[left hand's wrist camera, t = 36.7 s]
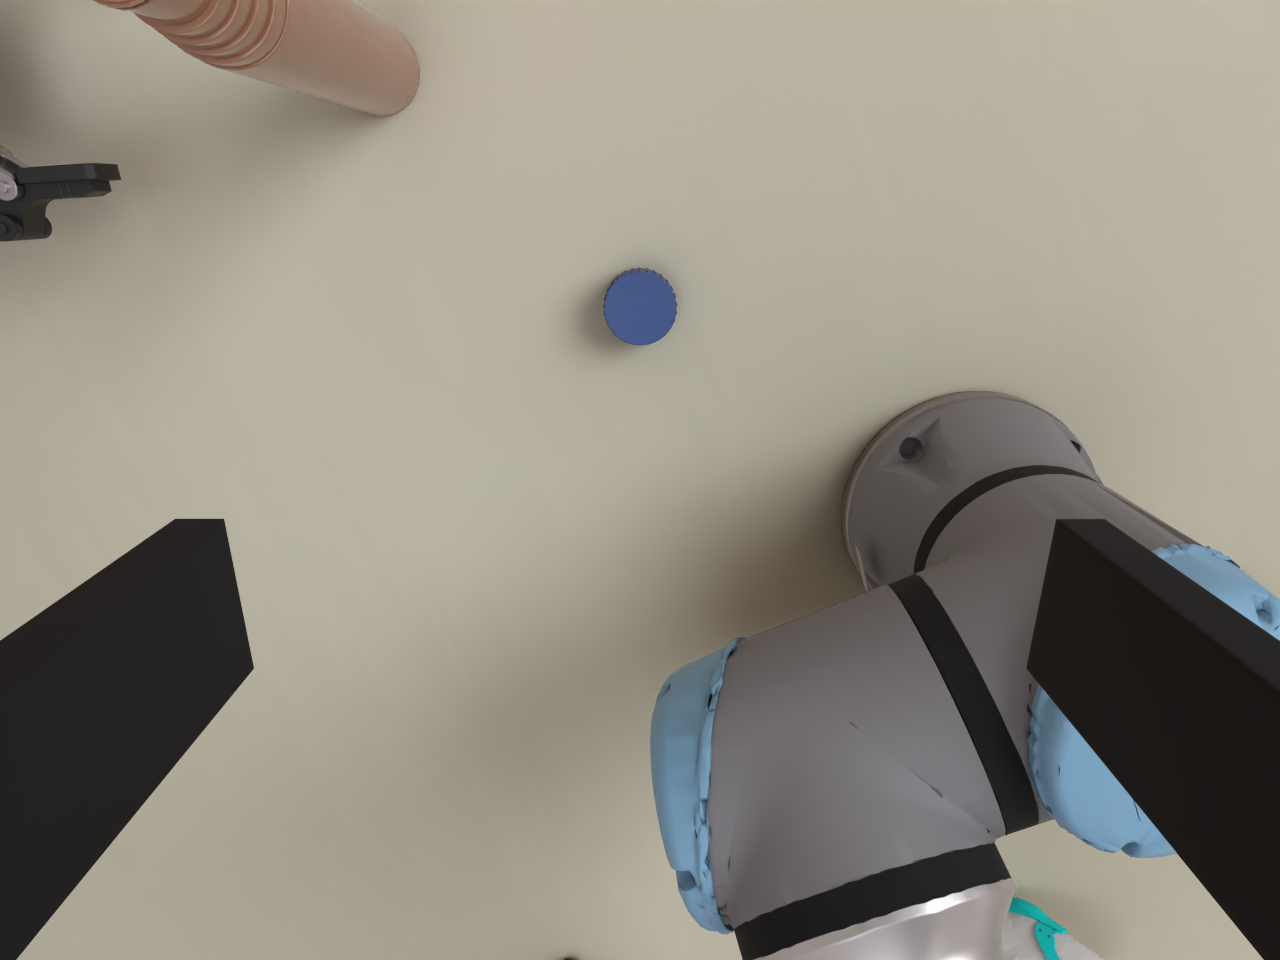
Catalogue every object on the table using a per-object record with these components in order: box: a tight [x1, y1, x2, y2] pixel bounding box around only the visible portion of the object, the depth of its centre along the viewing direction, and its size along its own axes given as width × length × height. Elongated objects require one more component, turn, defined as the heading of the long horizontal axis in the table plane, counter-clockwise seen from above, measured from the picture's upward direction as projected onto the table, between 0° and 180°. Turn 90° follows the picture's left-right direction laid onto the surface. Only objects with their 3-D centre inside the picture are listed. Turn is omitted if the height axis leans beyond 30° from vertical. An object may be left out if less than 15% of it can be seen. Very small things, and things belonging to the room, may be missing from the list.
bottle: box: [93, 0, 419, 116], centre depth 31 cm, size 4×4×23 cm
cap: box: [603, 268, 677, 345], centre depth 44 cm, size 4×4×2 cm
